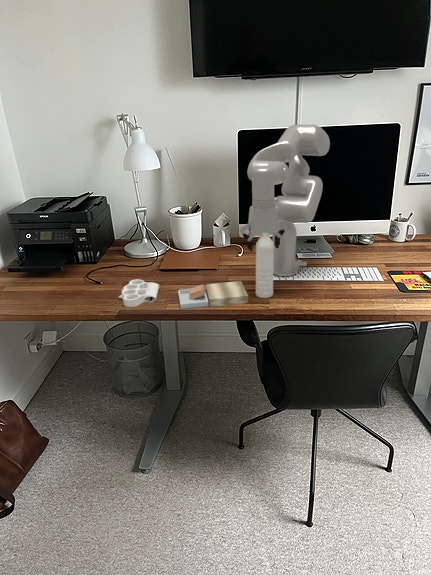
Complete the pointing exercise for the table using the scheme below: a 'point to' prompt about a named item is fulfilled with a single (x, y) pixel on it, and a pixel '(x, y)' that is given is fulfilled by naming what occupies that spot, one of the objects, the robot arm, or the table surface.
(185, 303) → the box
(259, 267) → the water bottle
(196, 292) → the terracotta tile
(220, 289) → the birch plate
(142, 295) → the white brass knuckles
